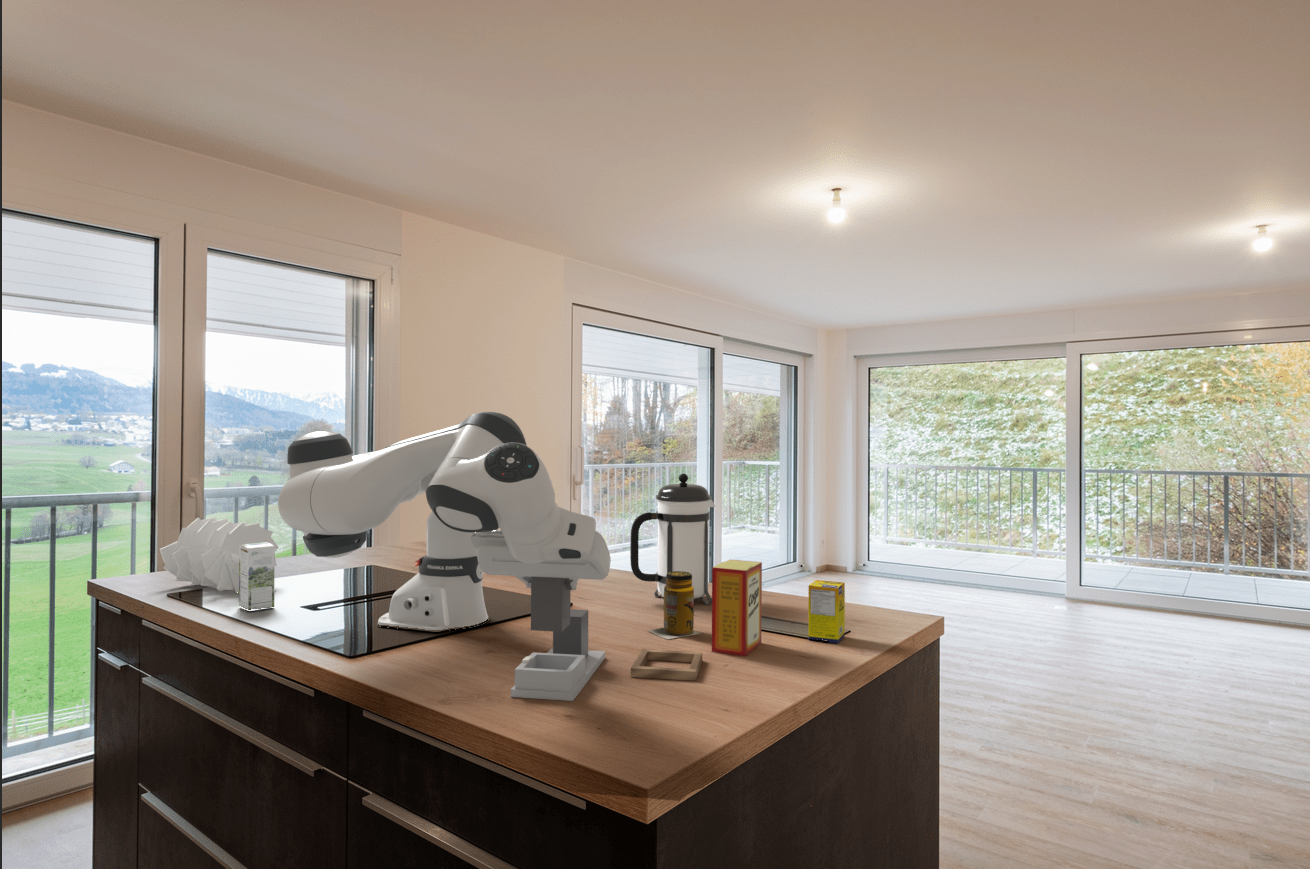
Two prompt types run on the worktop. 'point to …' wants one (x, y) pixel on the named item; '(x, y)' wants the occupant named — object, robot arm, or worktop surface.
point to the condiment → (678, 606)
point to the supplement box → (826, 611)
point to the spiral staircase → (212, 552)
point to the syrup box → (256, 575)
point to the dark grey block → (549, 604)
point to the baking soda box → (736, 607)
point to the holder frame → (667, 673)
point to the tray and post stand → (559, 664)
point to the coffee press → (678, 536)
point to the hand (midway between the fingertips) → (552, 585)
